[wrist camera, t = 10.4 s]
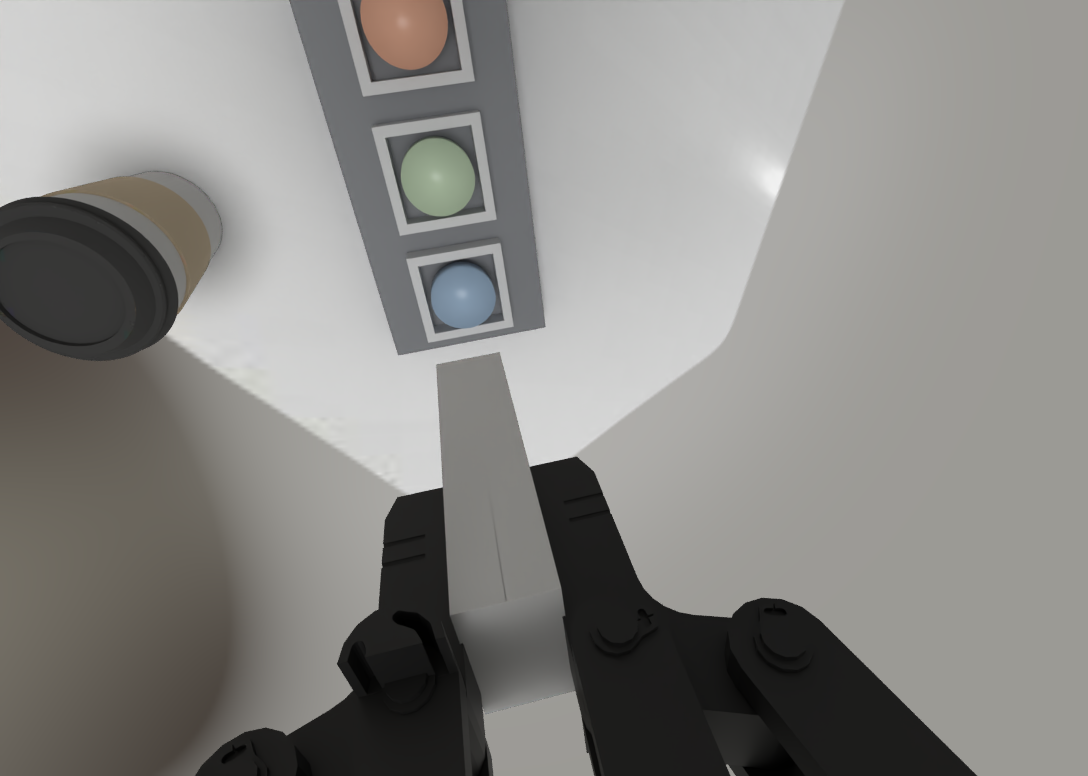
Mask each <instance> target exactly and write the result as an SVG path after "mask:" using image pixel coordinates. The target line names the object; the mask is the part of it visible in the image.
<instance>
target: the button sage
mask: <svg viewBox="0 0 1088 776" xmlns="http://www.w3.org/2000/svg"><path fill="white" fill-rule="evenodd" d="M401 183H402V187H403V190H404V192H405V194H406V196H407V198H408V199H409V201H410V202H411V203H412V204H413V205H414V206H415V207H416V208H417V209H419V210H420V211H422V212H424V213H426V214H429V215H432V216H448V215H452V214H455V213H456V212H458V211H460V210H461V209H463V208H464V207H465V206H466V205H467V203H468V202H469V200H470V199H471V197H472V194H473V191H474V187H475V174H474V169H473V167H472V164H471V162H470V160H469V158H468V156H467V154H466V153H465V151H464V150H463V149H462V148H461V147H460V146H459V145H458V144H457V143H455V142H454V141H452V140H450V139H447V138H444V137H440V136H430V137H425V138H423V139H420V140H418V141H417V142H415V143H414V144H413V145H412V146H411V147H410V148H409V149H408V151H407V152H406V154H405V156H404V159H403V162H402V167H401Z"/></svg>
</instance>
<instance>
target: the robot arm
mask: <svg viewBox="0 0 1088 776" xmlns="http://www.w3.org/2000/svg"><path fill="white" fill-rule="evenodd" d="M436 368H437V386H438V405H439V423H440V442H441V461H442V479H443V488H438V489H433V490H429V491H424V492H420V493H415V494H411V495H406V496H401V497H397V499H396V501H395V503H394V504H393V506H392V508H391V510H390V512H389V514H388V516H387V517H386V519H385V527H384V540H383V541H384V542H383V544H384V548H383V556H382V566H383V568H382V569H381V582H380V596H379V610H377V611H374V612H373V613H372V614H371V615H370V616H368V617H367V618H365V619H364V620H363V621H362V622H360V623H359V624H358V625H357V626H356V627H355V629H354V630H353V631H352V633H351V634H350V636H349V637H348V638H347V640H346V641H345V642H344V645H343V647H342V651H341V653H340V657H339V660H338V663H337V665H338V666H339V668H340V669H341V671H342V673H343V674H344V676H345V678H346V679H347V681H348V682H349V684H350V686H351V687H352V689H353V691H352V692H351V693H350V694H349V695H348V696H347V698H345V699H344V700H343V701H342V702H340V703H339V704H337V705H336V706H335V707H333V708H332V709H331V710H329V711H327V712H326V713H324V714H322V715H321V716H319V717H318V718H316V719H314V720H312V721H311V722H309V723H307V724H306V725H304V726H302V727H301V728H299V729H297V730H295V731H294V732H292V733H291V734H289V735H287V736H286V735H285V734H284V733H283V732H281V731H277V730H273V729H269V728H262V729H257V730H253V731H248V732H244V733H243V734H241V735H239V736H237V737H236V738H234V739H232V740H231V741H229V742H227V743H225V744H224V745H222V747H220V748H219V749H218V750H217V751H216V752H215V753H214V754H213V755H212V756H211V757H210V758H209V759H208V760H207V761H206V762H205V763H204V764H203V765H202V766H201V767H200V769H199V771H198V772H197V774H196V776H493V768H492V759H491V754H490V751H489V748H488V744H487V741H486V738H485V730H484V719H483V710H482V706H483V709H484V712H485V714H489V713H493V712H496V711H500V710H504V709H508V708H511V707H515V706H519V705H523V704H526V703H530V702H534V701H537V700H542V699H545V698H549V697H553V696H556V695H560V694H564V693H568V692H572V691H576V695H577V699H578V703H579V707H580V711H581V715H582V722H583V729H584V736H585V743H586V750H587V753H589V755H590V759H591V763H592V768H593V772H594V776H730V774H729V771H728V769H727V767H726V764H728V765H729V766H730V768H731V769H732V771H733V772H734V774H735V775H736V776H977V775H976V774H975V773H974V772H973V771H972V770H971V769H970V768H969V767H968V766H967V765H966V764H965V763H964V762H963V761H961V759H960V758H959V757H958V756H956V755H955V754H954V753H953V752H952V751H951V750H950V749H949V748H948V747H947V746H946V745H945V744H944V743H943V742H942V741H941V740H940V739H939V738H938V737H937V736H936V735H935V734H934V733H933V732H932V731H931V730H930V729H929V728H928V727H927V726H926V725H925V724H924V723H923V722H922V721H921V720H920V719H919V718H918V717H917V716H916V715H915V714H914V713H913V712H912V711H911V710H910V709H909V708H908V707H907V706H906V705H905V704H904V703H903V702H902V701H901V700H900V699H899V698H898V697H897V696H896V695H895V694H894V693H893V692H892V691H891V690H890V689H888V687H887V686H886V685H885V684H883V682H882V681H881V680H880V679H879V678H878V677H877V676H876V675H875V674H874V673H872V671H871V670H870V669H869V668H868V667H866V665H864V664H863V663H862V662H861V661H860V660H859V659H858V658H857V657H856V656H855V655H854V654H853V653H852V652H851V651H850V650H849V649H848V648H847V647H846V646H845V645H844V644H843V643H842V642H841V641H840V640H839V639H838V638H837V637H836V636H835V635H834V634H833V633H832V632H831V631H830V630H829V629H828V628H827V627H826V626H825V625H824V624H823V623H822V622H821V621H820V620H819V619H817V618H816V617H815V616H813V615H812V614H811V613H809V612H808V611H807V610H805V609H804V608H803V607H800V606H798V605H795V604H793V603H790V602H787V601H785V600H782V599H771V598H760V599H757V600H753V601H750V602H747V603H745V604H743V605H742V606H741V607H740V608H739V609H738V610H737V611H736V612H735V613H734V614H733V616H732V618H727V617H714V616H701V615H700V616H699V615H691V614H686V613H680V612H677V611H675V610H672V609H670V608H667V607H665V606H663V605H662V604H660V603H659V602H657V601H656V600H654V599H653V598H652V597H651V596H650V595H649V594H648V593H647V592H646V591H645V590H644V588H643V587H642V585H641V583H640V581H639V580H638V578H637V575H636V573H635V570H634V568H633V566H632V563H631V561H630V559H629V556H628V553H627V551H626V548H625V546H624V544H623V541H622V539H621V536H620V534H619V532H618V529H617V527H616V524H615V522H614V519H613V517H612V514H610V510H609V507H608V505H607V502H606V500H605V498H604V496H603V493H602V490H601V488H600V485H599V483H598V480H597V478H596V475H595V473H594V471H593V470H591V469H590V468H589V467H588V466H587V465H586V464H585V463H583V462H582V461H581V460H580V459H579V458H578V457H573V458H568V459H563V460H559V461H554V462H550V463H545V464H540V465H536V466H531V467H529V463H528V459H527V455H526V451H525V448H524V444H523V440H522V436H521V432H520V429H519V425H518V421H517V417H516V413H515V409H514V406H513V402H512V398H511V394H510V390H509V387H508V383H507V379H506V375H505V371H504V367H503V364H502V360H501V356H500V352H499V353H493V354H488V355H483V356H478V357H473V358H468V359H463V360H457V361H452V362H447V363H442V364H437V365H436Z"/></svg>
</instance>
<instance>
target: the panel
mask: <svg viewBox="0 0 1088 776" xmlns="http://www.w3.org/2000/svg"><path fill="white" fill-rule="evenodd" d="M289 1H290V4H291V7H292V11H293V14H294V17H295V20H296V24H297V27H298V30H299V33H300V37H301V40H302V43H303V46H304V50H305V53H306V56H307V59H308V63H309V66H310V69H311V73H312V76H313V79H314V82H315V86H316V89H317V92H318V95H319V99H320V102H321V105H322V108H323V112H324V115H325V118H326V121H327V125H328V128H329V131H330V135H331V138H332V141H333V144H334V148H335V151H336V154H337V157H338V161H339V164H340V167H341V170H342V174H343V177H344V180H345V183H346V187H347V190H348V193H349V196H350V200H351V203H352V206H353V210H354V213H355V216H356V219H357V223H358V226H359V229H360V232H361V236H362V239H363V242H364V245H365V249H366V252H367V255H368V258H369V262H370V265H371V268H372V272H373V275H374V278H375V281H376V285H377V288H378V291H379V294H380V298H381V301H382V304H383V307H384V311H385V314H386V317H387V320H388V324H389V327H390V330H391V333H392V337H393V340H394V343H395V347H396V350H397V353H398V355H403V354H408V353H413V352H418V351H424V350H429V349H434V348H439V347H445V346H450V345H455V344H460V343H465V342H471V341H476V340H481V339H486V338H491V337H497V336H502V335H507V334H512V333H517V332H523V331H528V330H533V329H538V328H544V327H545V319H544V311H543V303H542V294H541V286H540V278H539V269H538V261H537V253H536V244H535V236H534V228H533V219H532V211H531V203H530V195H529V186H528V178H527V170H526V161H525V153H524V145H523V136H522V128H521V120H520V112H519V103H518V95H517V87H516V78H515V70H514V62H513V53H512V45H511V37H510V28H509V20H508V12H507V4H506V0H443V3H444V6H445V9H446V13H447V19H448V32H447V38H446V42H445V45H444V47H443V49H442V51H441V53H440V54H439V56H438V57H437V58H436V59H435V60H434V61H433V62H432V63H430V64H429V65H427V66H425V67H423V68H420V69H415V70H407V69H401V68H398V67H395V66H393V65H391V64H389V63H388V62H386V61H385V60H383V59H382V58H381V57H380V56H379V55H378V54H377V53H376V52H375V51H374V49H373V48H372V46H371V45H370V43H369V42H368V40H367V38H366V35H365V33H364V30H363V27H362V22H361V14H360V7H361V0H289ZM430 136H440V137H444V138H447V139H450V140H452V141H454V142H455V143H457V144H458V145H459V146H460V147H461V148H462V149H463V150H464V151H465V153H466V154H467V156H468V158H469V160H470V162H471V164H472V167H473V169H474V174H475V187H474V191H473V194H472V197H471V199H470V200H469V202H468V203H467V205H466V206H465V207H464V208H463V209H461V210H460V211H458V212H456V213H455V214H452V215H448V216H432V215H429V214H426V213H424V212H422V211H420V210H419V209H417V208H416V207H415V206H414V205H413V204H412V203H411V202H410V201H409V199H408V198H407V196H406V194H405V192H404V190H403V187H402V183H401V167H402V162H403V159H404V156H405V154H406V152H407V151H408V149H409V148H410V147H411V146H412V145H413V144H414V143H415V142H417V141H418V140H420V139H423V138H425V137H430ZM455 262H469V263H473V264H475V265H477V266H479V267H481V268H482V269H483V270H484V271H485V272H486V273H487V274H488V275H489V277H490V279H491V281H492V284H493V287H494V290H495V295H496V302H495V307H494V310H493V312H492V313H491V315H490V316H489V317H488V319H487V320H485V321H484V322H483V323H481V324H480V325H478V326H475V327H472V328H466V329H461V328H455V327H452V326H449V325H447V324H445V323H444V322H443V321H441V320H440V319H439V318H438V317H437V315H436V314H435V312H434V310H433V307H432V303H431V285H432V281H433V279H434V277H435V275H436V274H437V273H438V272H439V271H440V270H441V269H442V268H443V267H445V266H447V265H449V264H451V263H455Z"/></svg>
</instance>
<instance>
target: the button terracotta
mask: <svg viewBox="0 0 1088 776" xmlns="http://www.w3.org/2000/svg"><path fill="white" fill-rule="evenodd" d="M360 14H361V22H362V27H363V30H364V33H365V35H366V38H367V40H368V42H369V43H370V45H371V46H372V48H373V49H374V51H375V52H376V53H377V54H378V55H379V56H380V57H381V58H382V59H383V60H385V61H386V62H388V63H389V64H391V65H393V66H395V67H398V68H401V69H407V70H415V69H420V68H423V67H425V66H427V65H429V64H430V63H432V62H433V61H434V60H435V59H436V58H437V57H438V56H439V54H440V53H441V51H442V49H443V47H444V45H445V42H446V38H447V32H448V19H447V13H446V9H445V6H444V3H443V0H361V7H360Z"/></svg>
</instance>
